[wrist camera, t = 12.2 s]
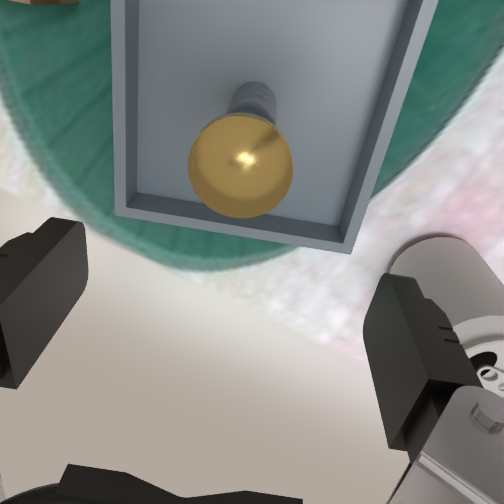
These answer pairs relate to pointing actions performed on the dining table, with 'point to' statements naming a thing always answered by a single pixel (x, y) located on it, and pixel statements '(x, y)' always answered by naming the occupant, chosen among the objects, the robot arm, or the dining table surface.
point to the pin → (242, 157)
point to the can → (462, 300)
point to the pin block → (48, 1)
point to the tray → (287, 103)
